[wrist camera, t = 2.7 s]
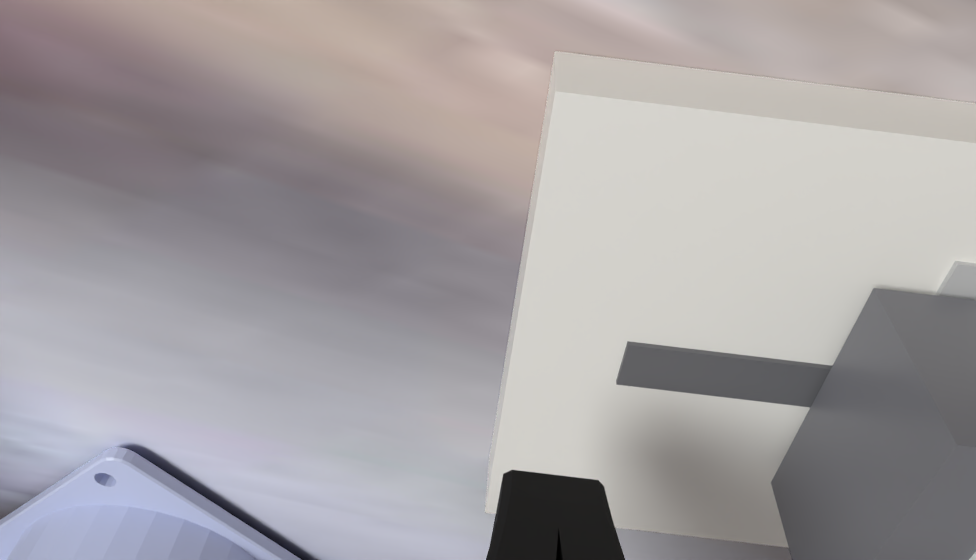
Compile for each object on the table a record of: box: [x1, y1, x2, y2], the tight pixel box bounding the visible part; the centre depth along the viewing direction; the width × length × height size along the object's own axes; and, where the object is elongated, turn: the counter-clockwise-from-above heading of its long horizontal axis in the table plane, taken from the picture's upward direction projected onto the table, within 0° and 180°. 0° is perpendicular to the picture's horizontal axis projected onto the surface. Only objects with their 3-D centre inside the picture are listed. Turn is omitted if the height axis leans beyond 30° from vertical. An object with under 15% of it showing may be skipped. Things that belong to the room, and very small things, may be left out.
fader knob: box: [771, 288, 976, 560], centre depth 13 cm, size 3×5×3 cm, turn 174°
